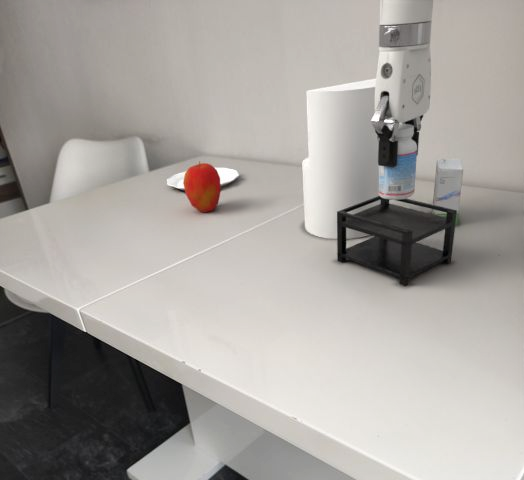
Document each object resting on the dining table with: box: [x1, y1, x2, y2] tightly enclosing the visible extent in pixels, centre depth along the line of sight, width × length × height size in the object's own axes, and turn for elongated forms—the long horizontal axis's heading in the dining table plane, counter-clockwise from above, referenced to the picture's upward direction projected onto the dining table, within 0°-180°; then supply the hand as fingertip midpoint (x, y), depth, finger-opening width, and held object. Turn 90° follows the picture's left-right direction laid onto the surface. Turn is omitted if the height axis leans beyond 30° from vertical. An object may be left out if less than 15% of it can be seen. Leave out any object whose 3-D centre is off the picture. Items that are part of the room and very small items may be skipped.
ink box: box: [431, 158, 464, 226], centre depth 113 cm, size 8×5×12 cm, turn 168°
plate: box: [166, 167, 240, 191], centre depth 156 cm, size 21×21×2 cm
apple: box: [183, 161, 222, 213], centre depth 132 cm, size 9×9×12 cm
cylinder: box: [301, 77, 389, 240], centre depth 111 cm, size 17×17×28 cm
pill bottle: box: [379, 123, 418, 201], centre depth 90 cm, size 6×6×11 cm
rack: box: [336, 196, 457, 287], centre depth 97 cm, size 16×13×10 cm
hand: (398, 159), depth 90 cm, fingers closed on pill bottle, 6 cm apart
